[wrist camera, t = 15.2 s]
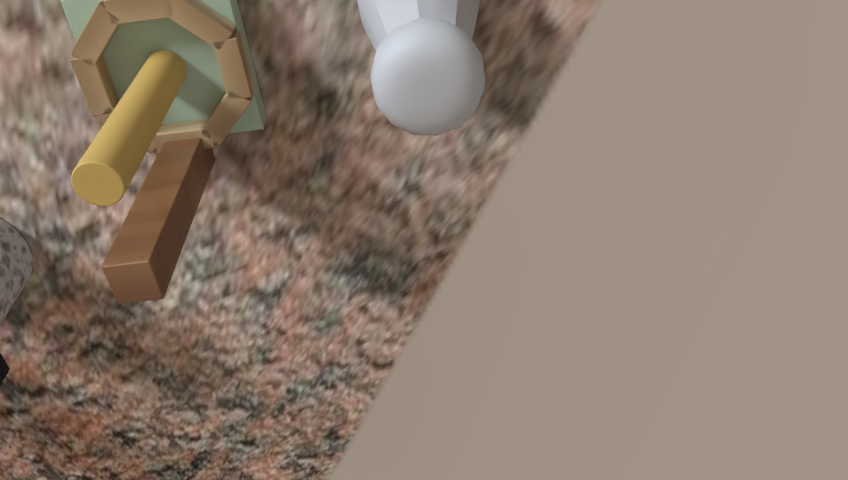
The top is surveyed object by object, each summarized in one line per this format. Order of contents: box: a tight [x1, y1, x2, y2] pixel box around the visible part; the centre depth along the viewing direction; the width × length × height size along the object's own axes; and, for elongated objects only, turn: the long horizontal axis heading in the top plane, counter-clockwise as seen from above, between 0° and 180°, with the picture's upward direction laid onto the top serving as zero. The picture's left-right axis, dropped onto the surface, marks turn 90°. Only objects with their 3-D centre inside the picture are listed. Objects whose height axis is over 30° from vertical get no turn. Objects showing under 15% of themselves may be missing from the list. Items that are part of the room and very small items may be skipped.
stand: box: [60, 0, 267, 206], centre depth 35 cm, size 8×8×13 cm
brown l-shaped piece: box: [70, 0, 255, 304], centre depth 35 cm, size 10×8×12 cm
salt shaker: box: [358, 0, 486, 135], centre depth 34 cm, size 6×6×13 cm
